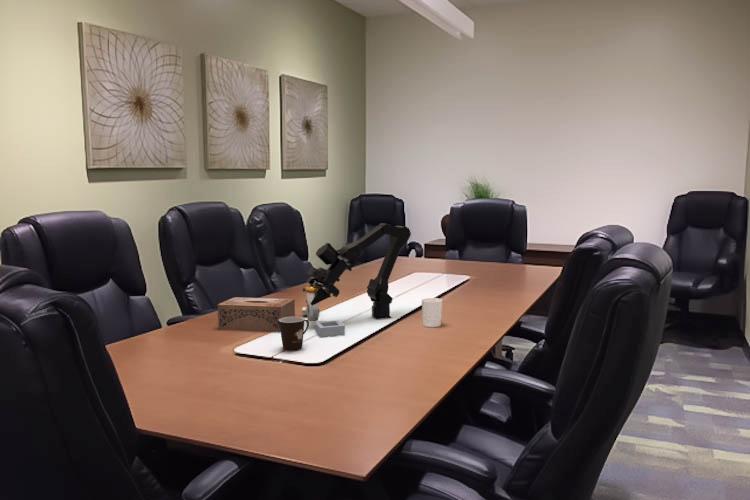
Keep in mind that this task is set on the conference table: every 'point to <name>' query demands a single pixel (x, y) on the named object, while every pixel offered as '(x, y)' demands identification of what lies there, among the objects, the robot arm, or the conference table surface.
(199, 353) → the conference table surface
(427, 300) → the white cup
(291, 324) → the coffee mug
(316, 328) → the grey square hollow block
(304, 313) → the valve
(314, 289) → the gold-capped bottle
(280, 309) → the tissue box cover
